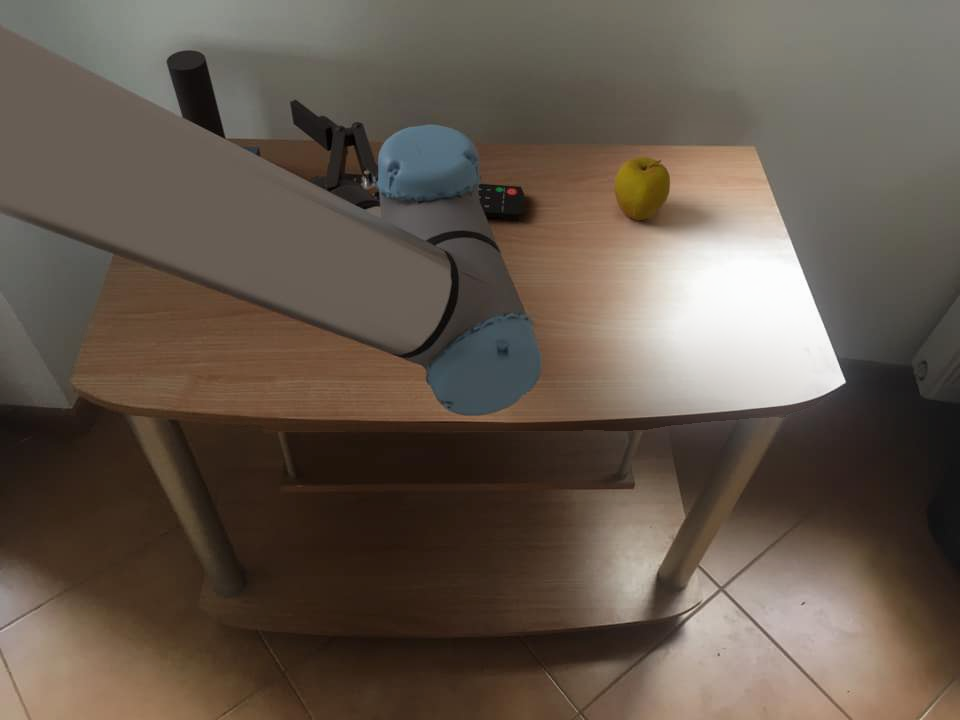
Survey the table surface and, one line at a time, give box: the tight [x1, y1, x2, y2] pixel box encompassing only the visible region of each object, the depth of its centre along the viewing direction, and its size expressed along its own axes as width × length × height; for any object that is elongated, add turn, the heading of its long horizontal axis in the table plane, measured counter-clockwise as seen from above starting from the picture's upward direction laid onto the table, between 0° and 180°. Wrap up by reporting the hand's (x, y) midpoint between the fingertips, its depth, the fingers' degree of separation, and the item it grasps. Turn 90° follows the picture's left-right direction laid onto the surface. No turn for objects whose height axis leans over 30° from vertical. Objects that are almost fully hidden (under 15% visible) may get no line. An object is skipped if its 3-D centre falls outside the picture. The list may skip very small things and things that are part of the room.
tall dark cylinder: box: [166, 49, 227, 140], centre depth 90 cm, size 4×4×16 cm
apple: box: [614, 157, 671, 221], centre depth 93 cm, size 6×6×8 cm
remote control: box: [344, 172, 526, 220], centre depth 96 cm, size 5×24×1 cm, turn 86°
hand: (239, 134), depth 82 cm, fingers open, 13 cm apart
